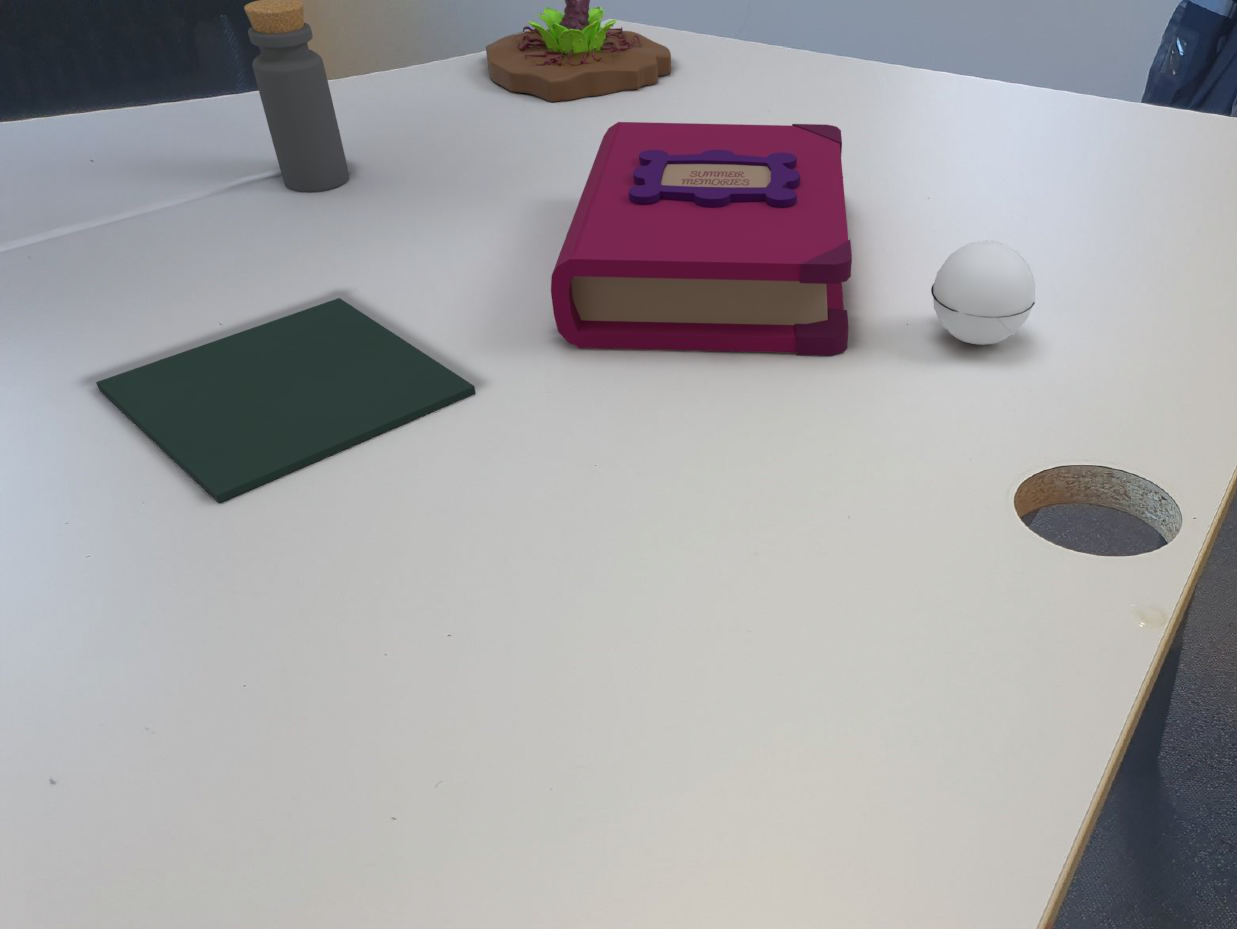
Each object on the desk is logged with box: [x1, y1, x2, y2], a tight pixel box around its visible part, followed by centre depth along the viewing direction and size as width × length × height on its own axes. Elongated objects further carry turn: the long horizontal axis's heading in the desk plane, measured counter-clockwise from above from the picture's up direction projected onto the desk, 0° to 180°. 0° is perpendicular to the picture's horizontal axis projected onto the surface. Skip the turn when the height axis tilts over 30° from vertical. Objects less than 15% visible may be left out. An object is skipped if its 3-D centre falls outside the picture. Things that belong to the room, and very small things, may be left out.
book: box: [550, 121, 853, 357], centre depth 89 cm, size 21×28×8 cm
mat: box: [95, 297, 477, 504], centre depth 76 cm, size 18×18×1 cm
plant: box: [485, 0, 672, 103], centre depth 127 cm, size 20×20×11 cm
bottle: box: [243, 0, 350, 193], centre depth 99 cm, size 6×6×15 cm
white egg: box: [930, 240, 1036, 346], centre depth 80 cm, size 10×7×7 cm
